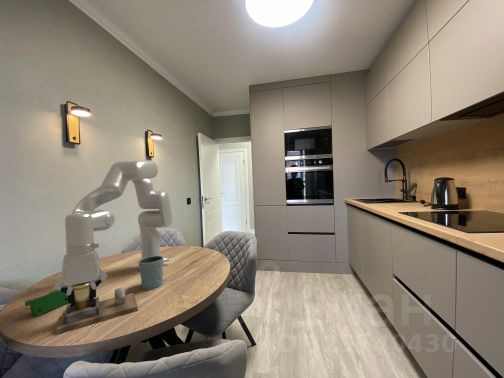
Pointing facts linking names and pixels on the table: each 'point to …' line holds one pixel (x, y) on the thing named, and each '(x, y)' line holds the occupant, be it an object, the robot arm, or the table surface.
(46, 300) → the clamp
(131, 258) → the table surface
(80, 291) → the brass door knob
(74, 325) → the fitting board
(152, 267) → the grey-green cup
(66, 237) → the robot arm
